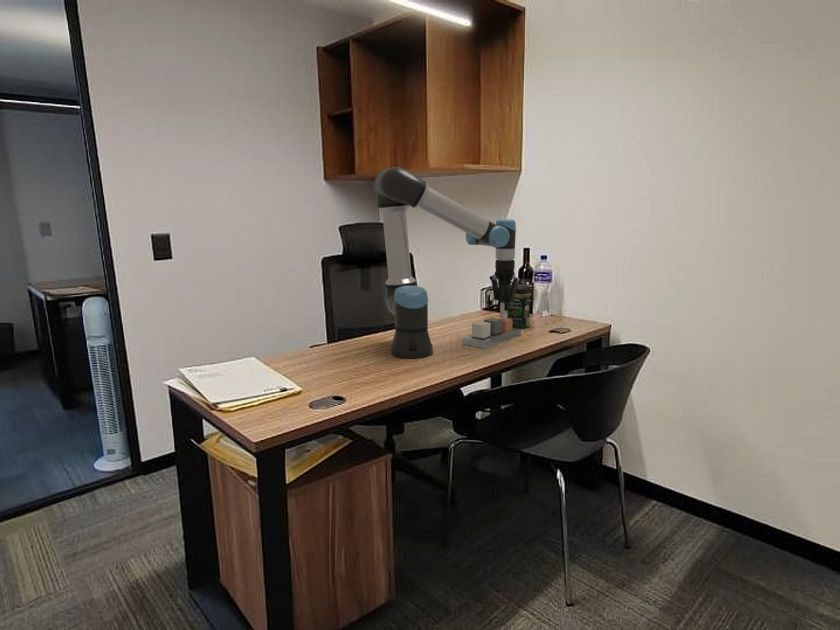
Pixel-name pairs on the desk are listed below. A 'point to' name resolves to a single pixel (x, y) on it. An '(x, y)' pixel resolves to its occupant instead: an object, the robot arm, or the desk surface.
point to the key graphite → (494, 325)
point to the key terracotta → (506, 324)
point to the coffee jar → (520, 307)
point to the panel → (491, 338)
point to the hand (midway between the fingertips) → (503, 318)
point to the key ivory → (480, 329)
